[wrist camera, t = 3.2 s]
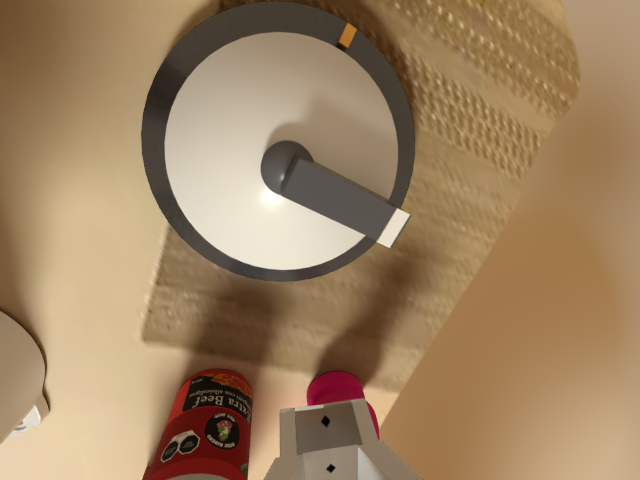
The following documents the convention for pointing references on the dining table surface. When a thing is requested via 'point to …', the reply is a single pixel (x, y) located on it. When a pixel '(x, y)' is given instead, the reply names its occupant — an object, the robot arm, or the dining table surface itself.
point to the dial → (283, 152)
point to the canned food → (207, 430)
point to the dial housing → (228, 30)
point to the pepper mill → (337, 391)
